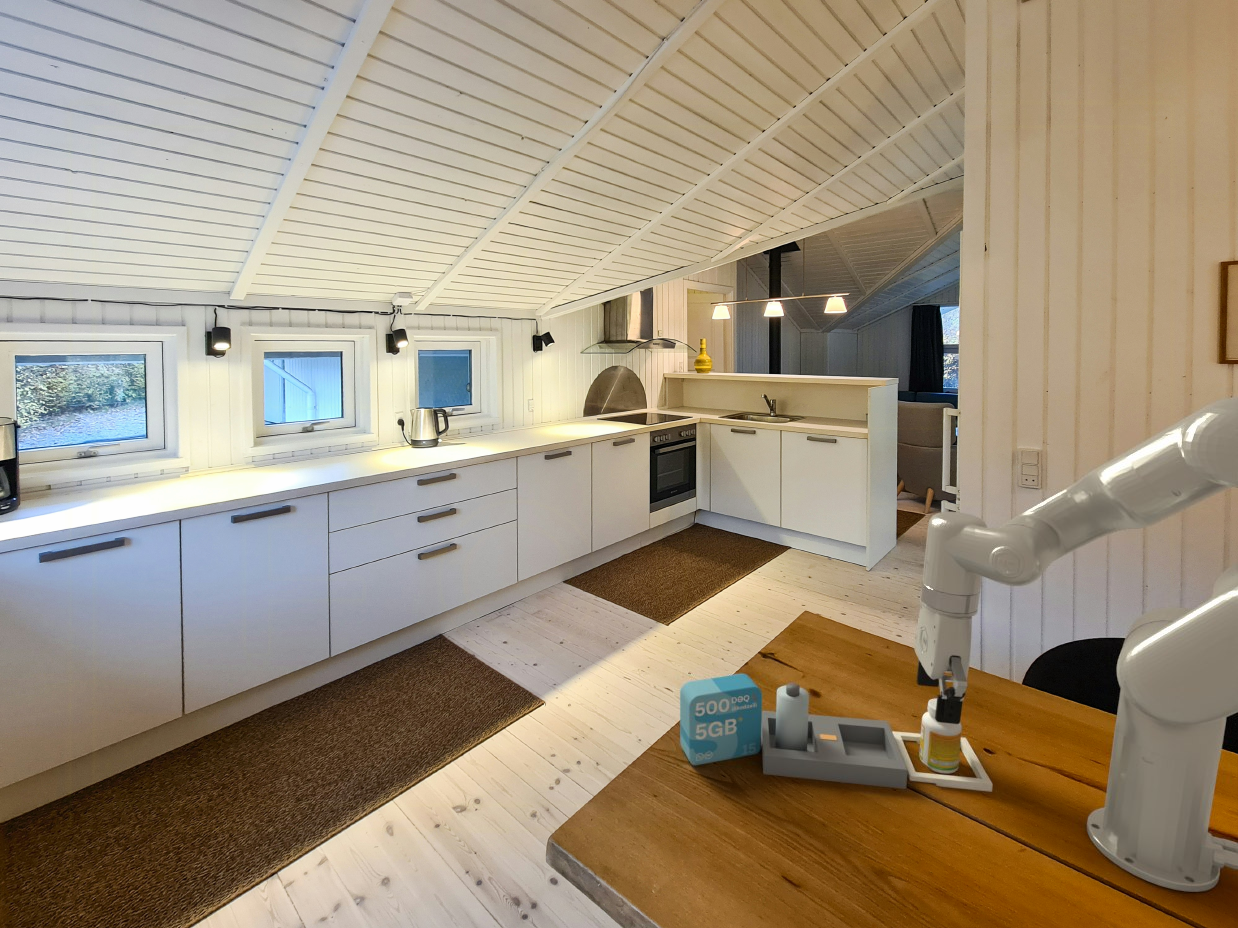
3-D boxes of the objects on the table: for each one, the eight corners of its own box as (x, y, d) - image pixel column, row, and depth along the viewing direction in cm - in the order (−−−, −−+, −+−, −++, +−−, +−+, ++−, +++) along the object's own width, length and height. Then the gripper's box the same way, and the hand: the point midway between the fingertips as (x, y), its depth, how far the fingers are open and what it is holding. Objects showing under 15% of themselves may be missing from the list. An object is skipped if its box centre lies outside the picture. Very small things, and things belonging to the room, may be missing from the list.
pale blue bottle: (805, 743, 99) (807, 679, 97) (808, 762, 95) (810, 695, 93) (774, 740, 100) (776, 676, 98) (776, 759, 96) (777, 693, 94)
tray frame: (964, 744, 99) (965, 737, 99) (991, 791, 89) (992, 784, 88) (891, 737, 101) (892, 731, 101) (909, 783, 91) (910, 775, 90)
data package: (689, 769, 95) (689, 697, 93) (679, 751, 99) (679, 682, 97) (761, 755, 98) (762, 685, 96) (748, 738, 102) (750, 671, 100)
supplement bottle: (966, 770, 93) (972, 711, 91) (938, 777, 92) (942, 718, 90) (939, 748, 98) (943, 692, 96) (911, 755, 97) (915, 698, 95)
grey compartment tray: (886, 740, 101) (887, 720, 100) (905, 791, 89) (907, 768, 88) (760, 729, 104) (761, 709, 104) (763, 776, 93) (763, 754, 92)
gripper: (906, 573, 99) (896, 670, 103) (940, 620, 83) (926, 734, 86) (957, 577, 98) (945, 675, 101) (1001, 625, 81) (985, 741, 85)
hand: (936, 702), depth 94 cm, fingers open, 9 cm apart
